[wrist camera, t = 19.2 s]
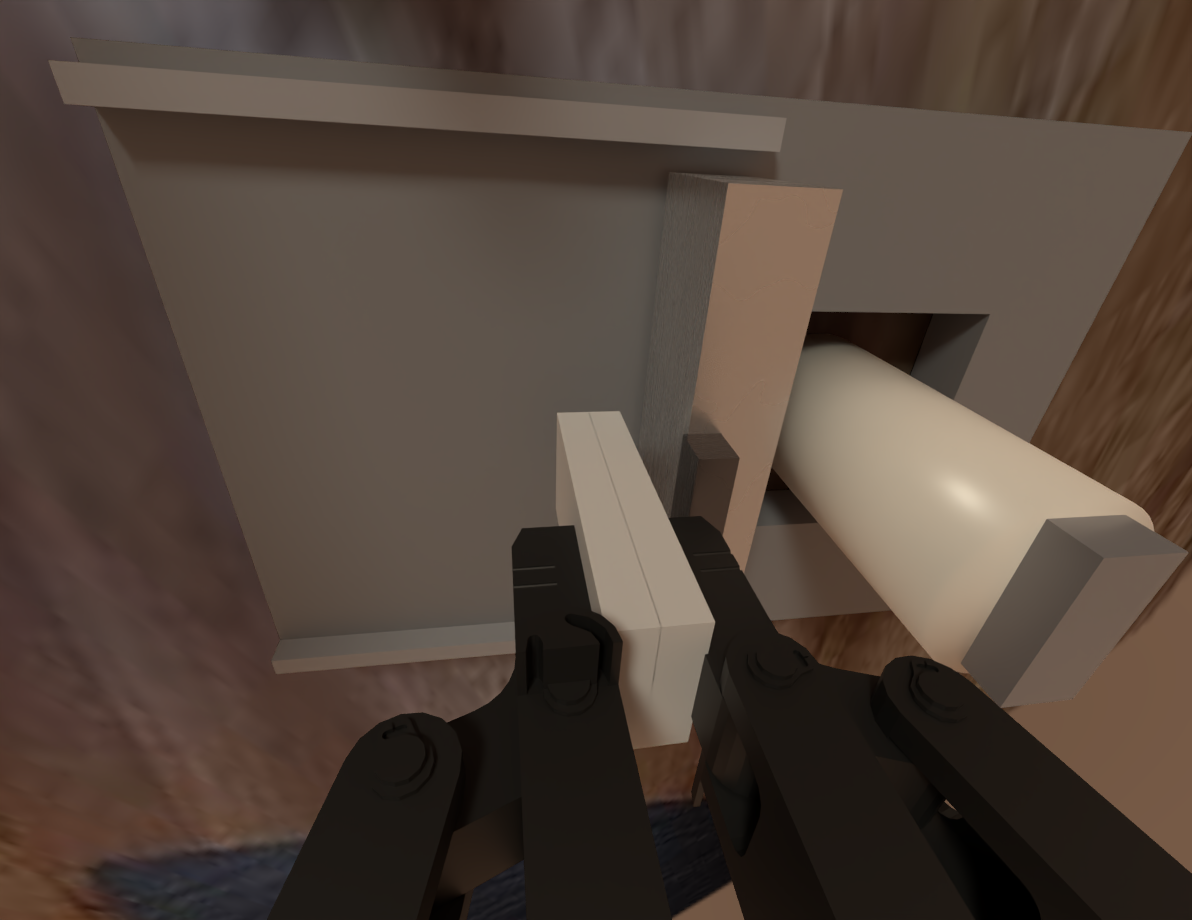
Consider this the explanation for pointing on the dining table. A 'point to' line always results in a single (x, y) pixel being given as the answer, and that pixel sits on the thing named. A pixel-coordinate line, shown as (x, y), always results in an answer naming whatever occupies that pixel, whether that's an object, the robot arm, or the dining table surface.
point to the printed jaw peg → (967, 526)
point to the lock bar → (728, 340)
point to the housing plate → (544, 298)
